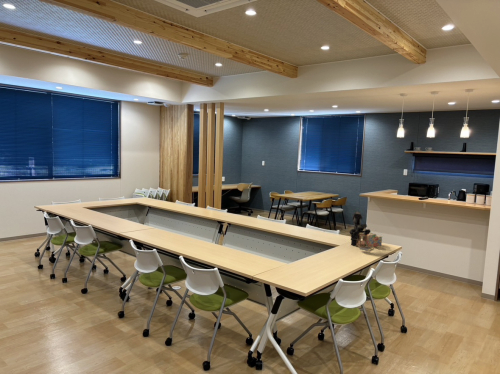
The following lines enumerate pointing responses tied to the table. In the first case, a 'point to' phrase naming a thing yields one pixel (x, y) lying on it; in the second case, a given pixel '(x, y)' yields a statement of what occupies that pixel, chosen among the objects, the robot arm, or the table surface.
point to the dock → (366, 248)
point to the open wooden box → (362, 240)
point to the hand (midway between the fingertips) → (362, 239)
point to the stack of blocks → (373, 240)
